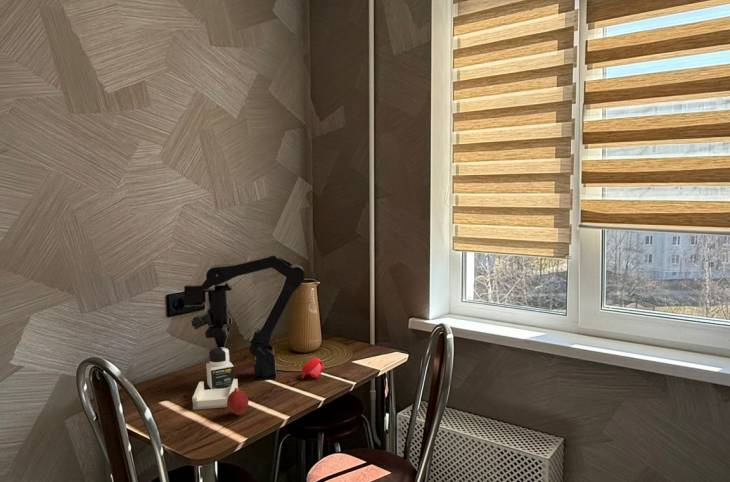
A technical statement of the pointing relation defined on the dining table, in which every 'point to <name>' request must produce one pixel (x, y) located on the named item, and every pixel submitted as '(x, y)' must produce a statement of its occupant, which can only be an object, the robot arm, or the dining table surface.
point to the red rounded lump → (237, 401)
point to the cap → (312, 368)
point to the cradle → (212, 396)
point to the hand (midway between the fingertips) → (221, 351)
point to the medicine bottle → (219, 369)
